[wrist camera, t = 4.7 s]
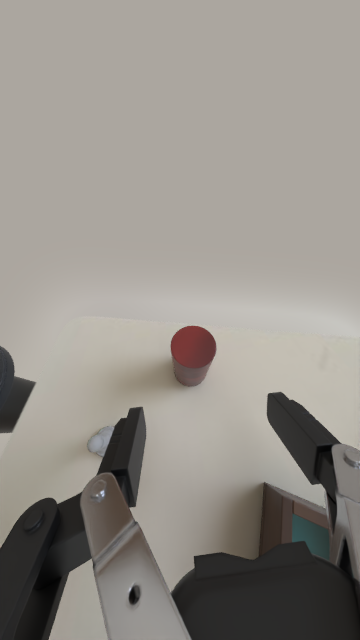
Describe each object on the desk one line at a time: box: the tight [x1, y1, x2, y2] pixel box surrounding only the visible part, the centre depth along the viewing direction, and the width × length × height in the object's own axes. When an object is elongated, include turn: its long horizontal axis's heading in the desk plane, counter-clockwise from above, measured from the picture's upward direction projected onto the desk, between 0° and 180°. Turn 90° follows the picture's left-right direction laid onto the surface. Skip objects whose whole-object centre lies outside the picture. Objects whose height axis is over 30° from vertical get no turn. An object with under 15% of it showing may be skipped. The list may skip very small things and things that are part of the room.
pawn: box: [87, 426, 114, 457], centre depth 16 cm, size 3×3×4 cm
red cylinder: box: [171, 326, 216, 386], centre depth 18 cm, size 4×4×8 cm
